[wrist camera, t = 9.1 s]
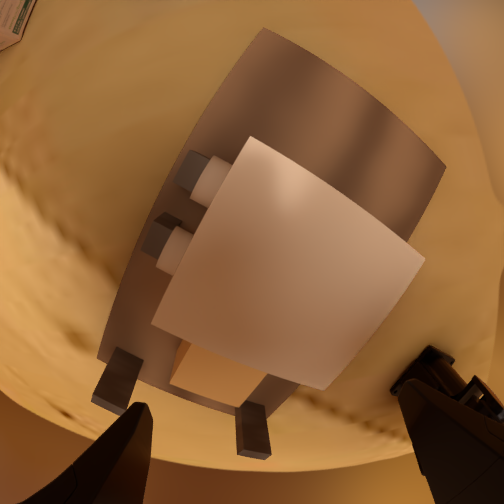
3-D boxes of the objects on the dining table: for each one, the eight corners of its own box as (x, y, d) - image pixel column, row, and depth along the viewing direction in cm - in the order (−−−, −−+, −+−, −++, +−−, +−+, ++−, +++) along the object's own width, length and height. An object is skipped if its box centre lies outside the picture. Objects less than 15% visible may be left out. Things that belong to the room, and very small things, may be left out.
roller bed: (441, 166, 17) (498, 175, 11) (261, 418, 23) (268, 469, 17) (262, 31, 13) (276, -19, 7) (99, 353, 20) (72, 402, 14)
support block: (270, 327, 19) (278, 360, 16) (237, 373, 20) (238, 407, 17) (204, 298, 18) (199, 329, 14) (177, 350, 19) (169, 383, 16)
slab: (404, 246, 14) (425, 258, 12) (315, 368, 16) (323, 390, 14) (247, 140, 11) (250, 135, 10) (160, 303, 14) (150, 323, 12)
